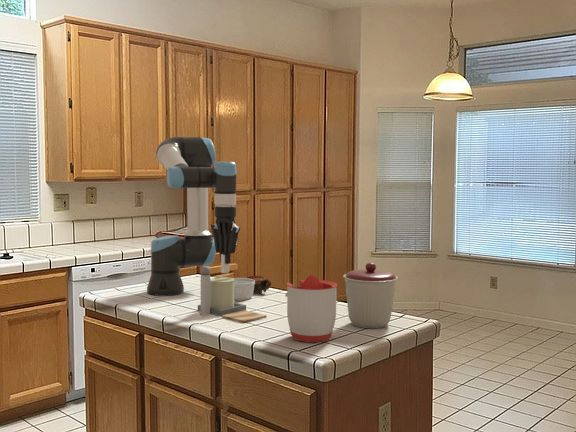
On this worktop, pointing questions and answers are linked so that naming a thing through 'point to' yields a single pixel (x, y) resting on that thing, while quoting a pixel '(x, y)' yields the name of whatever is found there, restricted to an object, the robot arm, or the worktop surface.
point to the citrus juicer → (311, 309)
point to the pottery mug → (260, 284)
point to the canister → (370, 296)
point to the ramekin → (243, 288)
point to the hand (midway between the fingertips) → (225, 272)
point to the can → (221, 293)
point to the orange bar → (216, 269)
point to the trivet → (244, 316)
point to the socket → (205, 301)
